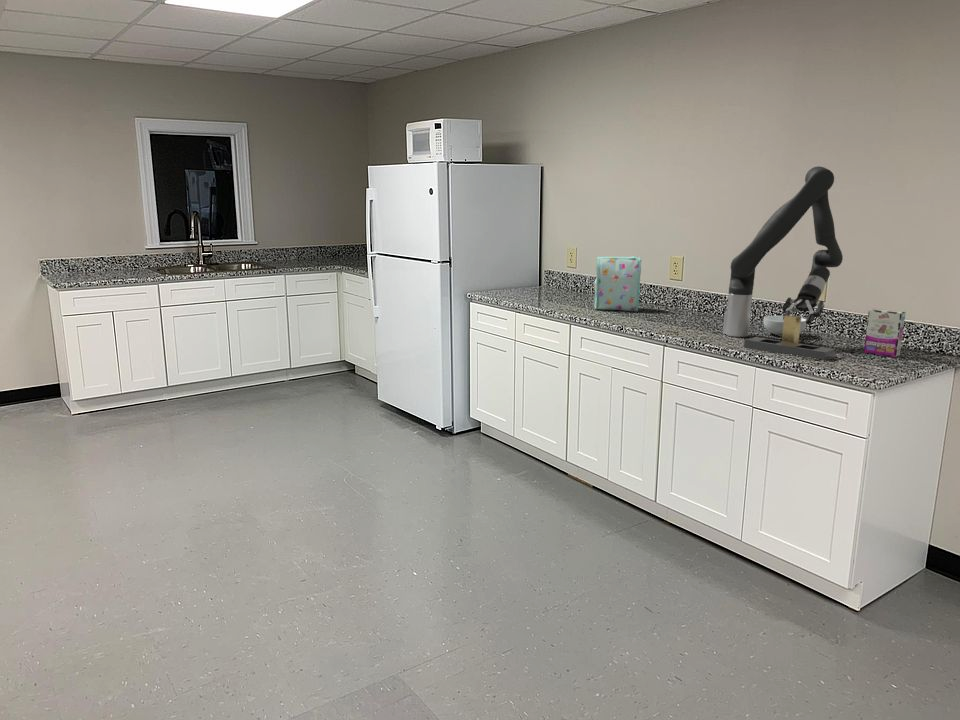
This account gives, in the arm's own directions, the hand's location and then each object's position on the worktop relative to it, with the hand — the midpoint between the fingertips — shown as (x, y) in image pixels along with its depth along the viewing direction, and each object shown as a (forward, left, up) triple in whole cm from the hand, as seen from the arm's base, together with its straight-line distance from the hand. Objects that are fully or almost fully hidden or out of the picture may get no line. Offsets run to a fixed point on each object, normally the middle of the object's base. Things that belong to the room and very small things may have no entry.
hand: (795, 321), depth 281 cm
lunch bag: (-103, +26, -10) cm, 107 cm away
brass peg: (0, -3, -10) cm, 10 cm away
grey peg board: (+4, -13, -10) cm, 17 cm away
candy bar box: (+28, +11, -10) cm, 32 cm away
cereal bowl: (-14, +22, -10) cm, 28 cm away
